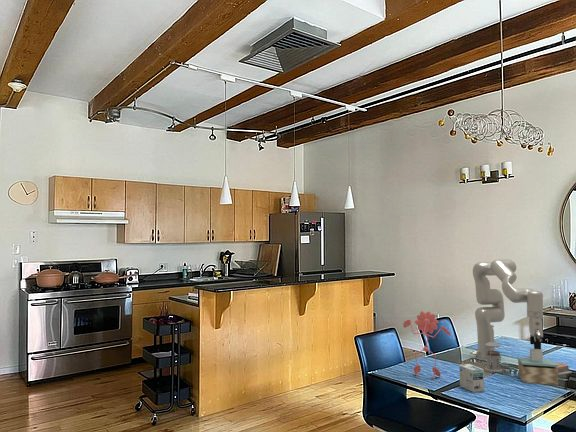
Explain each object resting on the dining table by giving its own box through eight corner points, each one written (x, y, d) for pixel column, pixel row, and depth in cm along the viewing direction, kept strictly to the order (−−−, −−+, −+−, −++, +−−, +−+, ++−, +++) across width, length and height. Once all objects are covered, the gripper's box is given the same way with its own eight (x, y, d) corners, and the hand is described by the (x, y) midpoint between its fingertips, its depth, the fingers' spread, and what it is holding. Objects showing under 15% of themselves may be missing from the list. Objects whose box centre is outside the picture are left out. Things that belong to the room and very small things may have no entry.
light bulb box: (485, 391, 223) (484, 368, 223) (473, 392, 221) (472, 370, 221) (470, 384, 233) (469, 363, 234) (459, 386, 231) (458, 364, 232)
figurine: (450, 382, 236) (448, 314, 239) (401, 375, 250) (399, 311, 252) (455, 375, 249) (454, 310, 252) (409, 369, 263) (407, 307, 265)
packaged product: (555, 360, 260) (572, 364, 251) (556, 369, 260) (572, 373, 251) (532, 363, 254) (548, 368, 244) (532, 372, 253) (548, 377, 244)
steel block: (532, 361, 239) (531, 349, 239) (530, 359, 243) (529, 348, 244) (543, 362, 237) (542, 350, 238) (540, 360, 242) (540, 348, 243)
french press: (505, 368, 260) (504, 324, 261) (498, 373, 251) (497, 327, 253) (487, 365, 266) (486, 322, 268) (480, 370, 258) (478, 325, 259)
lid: (522, 364, 236) (522, 362, 236) (517, 359, 249) (517, 357, 249) (558, 366, 231) (558, 364, 231) (551, 361, 244) (551, 359, 244)
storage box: (523, 382, 235) (522, 366, 236) (518, 374, 249) (518, 359, 249) (558, 385, 230) (557, 369, 231) (551, 377, 244) (550, 361, 244)
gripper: (546, 317, 232) (547, 351, 232) (539, 311, 248) (539, 343, 248) (530, 317, 234) (530, 350, 234) (524, 310, 251) (524, 342, 250)
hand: (535, 346), depth 241 cm, fingers open, 9 cm apart
